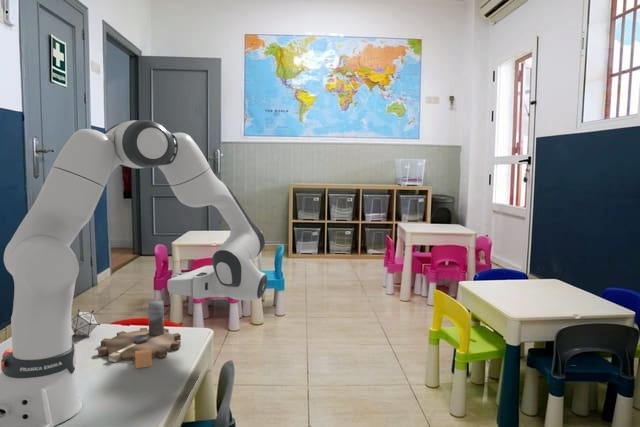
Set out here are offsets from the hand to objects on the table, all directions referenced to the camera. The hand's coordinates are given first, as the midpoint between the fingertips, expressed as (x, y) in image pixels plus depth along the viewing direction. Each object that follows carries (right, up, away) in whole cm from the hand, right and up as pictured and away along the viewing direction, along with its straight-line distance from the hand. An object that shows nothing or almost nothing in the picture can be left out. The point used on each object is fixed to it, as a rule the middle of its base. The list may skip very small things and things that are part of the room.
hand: (174, 276), depth 140 cm
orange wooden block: (-4, -22, -14) cm, 27 cm away
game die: (-31, -20, +7) cm, 37 cm away
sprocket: (-9, -21, -1) cm, 23 cm away
